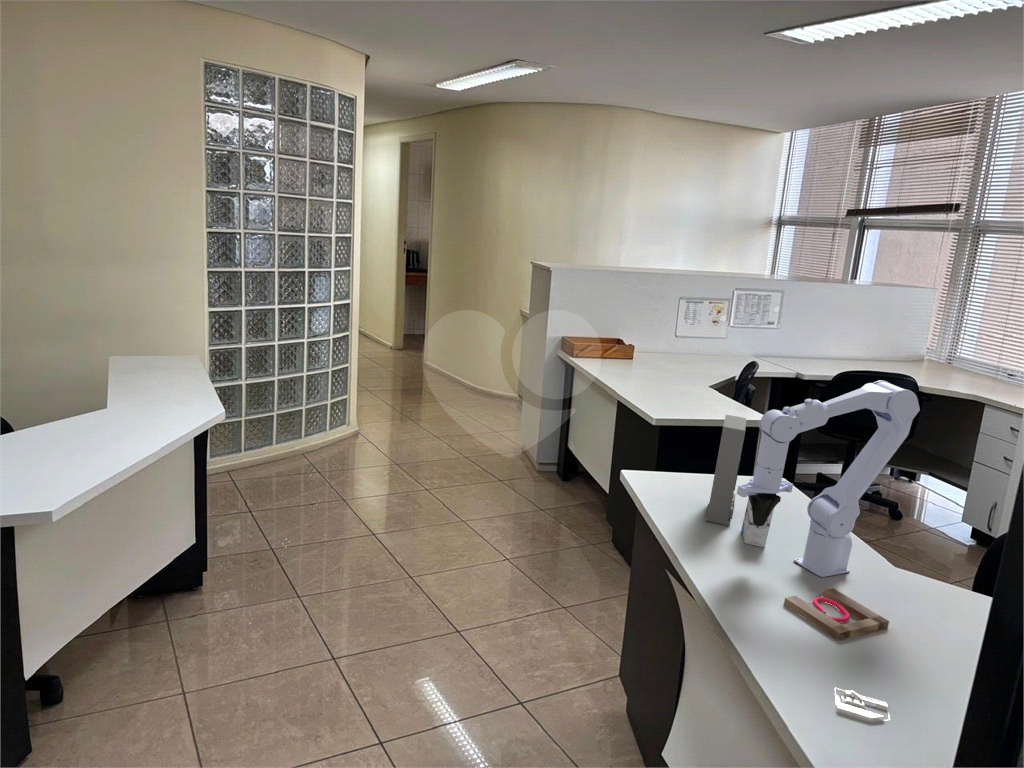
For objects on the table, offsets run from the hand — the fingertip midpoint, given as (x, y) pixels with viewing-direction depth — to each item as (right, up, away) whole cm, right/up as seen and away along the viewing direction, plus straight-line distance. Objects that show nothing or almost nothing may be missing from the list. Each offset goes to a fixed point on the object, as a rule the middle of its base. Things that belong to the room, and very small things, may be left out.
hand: (758, 524), depth 159 cm
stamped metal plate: (+1, -21, -45) cm, 49 cm away
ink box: (+4, -7, +16) cm, 18 cm away
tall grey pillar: (0, -3, +29) cm, 29 cm away
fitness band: (+9, -15, -15) cm, 23 cm away
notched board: (+9, -15, -17) cm, 24 cm away
